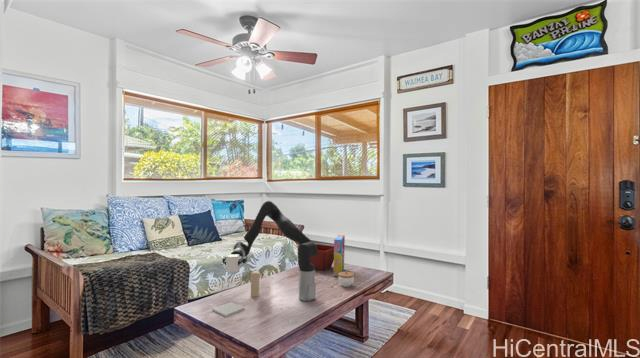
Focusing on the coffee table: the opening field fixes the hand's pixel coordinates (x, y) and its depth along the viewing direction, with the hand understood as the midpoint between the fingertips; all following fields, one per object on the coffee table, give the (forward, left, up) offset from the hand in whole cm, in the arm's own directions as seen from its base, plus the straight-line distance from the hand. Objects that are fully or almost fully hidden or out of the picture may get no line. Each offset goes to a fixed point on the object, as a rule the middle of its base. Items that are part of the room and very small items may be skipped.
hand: (232, 263), depth 167 cm
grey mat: (0, +2, -25) cm, 25 cm away
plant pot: (+12, -93, -25) cm, 98 cm away
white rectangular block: (+2, -2, -4) cm, 5 cm away
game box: (-6, -93, -25) cm, 97 cm away
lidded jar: (-26, -73, -25) cm, 82 cm away
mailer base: (+6, -21, -25) cm, 33 cm away
